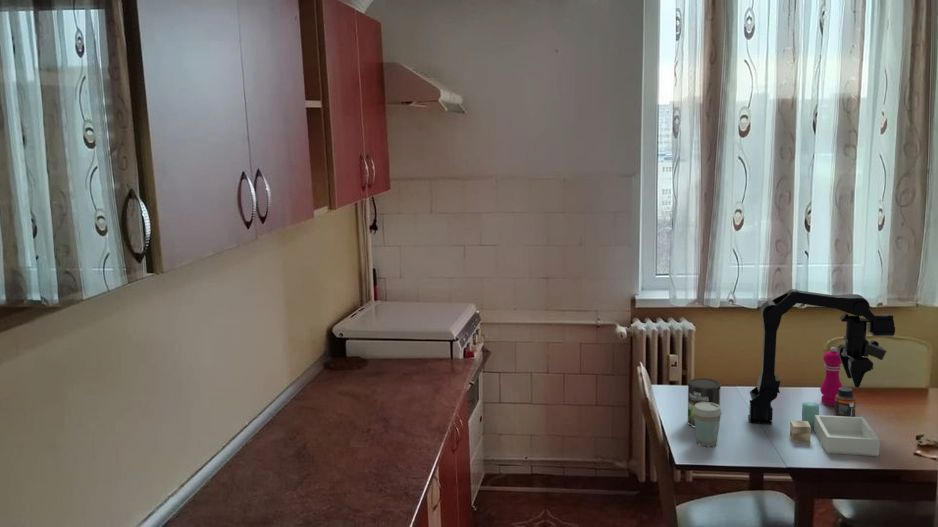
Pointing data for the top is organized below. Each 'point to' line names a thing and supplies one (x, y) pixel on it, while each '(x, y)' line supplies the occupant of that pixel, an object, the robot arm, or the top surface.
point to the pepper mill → (831, 377)
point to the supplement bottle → (845, 403)
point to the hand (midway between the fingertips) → (853, 382)
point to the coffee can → (702, 394)
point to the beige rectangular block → (800, 431)
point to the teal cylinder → (810, 412)
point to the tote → (846, 435)
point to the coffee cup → (707, 423)
